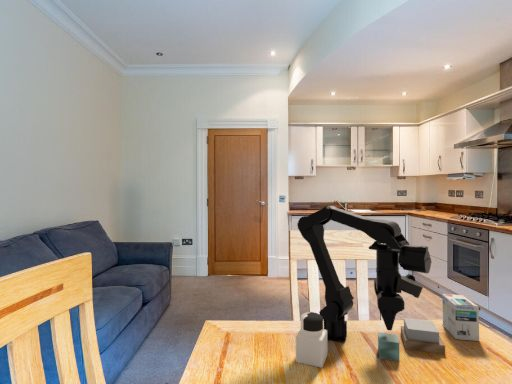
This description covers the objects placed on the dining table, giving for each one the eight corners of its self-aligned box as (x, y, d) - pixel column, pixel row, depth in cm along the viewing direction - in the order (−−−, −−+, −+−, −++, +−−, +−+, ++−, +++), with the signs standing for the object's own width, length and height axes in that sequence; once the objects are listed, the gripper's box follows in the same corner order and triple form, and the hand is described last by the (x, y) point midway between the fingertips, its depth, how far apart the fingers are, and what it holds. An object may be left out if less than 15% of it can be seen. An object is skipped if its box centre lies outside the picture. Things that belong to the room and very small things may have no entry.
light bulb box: (480, 341, 92) (479, 306, 92) (455, 339, 94) (455, 304, 94) (463, 326, 103) (463, 294, 103) (441, 324, 104) (441, 293, 104)
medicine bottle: (327, 355, 86) (327, 312, 86) (322, 368, 79) (321, 322, 79) (303, 349, 89) (302, 308, 89) (295, 362, 82) (295, 317, 82)
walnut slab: (405, 350, 89) (405, 340, 89) (400, 335, 98) (400, 326, 98) (445, 356, 86) (445, 345, 86) (436, 339, 95) (436, 330, 95)
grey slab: (408, 339, 89) (408, 328, 89) (403, 327, 97) (403, 318, 97) (439, 343, 87) (439, 332, 87) (432, 330, 95) (432, 321, 95)
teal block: (379, 358, 84) (379, 340, 84) (378, 349, 89) (377, 332, 89) (399, 361, 82) (399, 342, 82) (397, 352, 87) (396, 334, 87)
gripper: (427, 278, 74) (427, 343, 74) (413, 261, 92) (413, 313, 92) (377, 274, 77) (378, 336, 78) (373, 259, 95) (373, 309, 95)
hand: (387, 322), depth 85 cm, fingers open, 9 cm apart
